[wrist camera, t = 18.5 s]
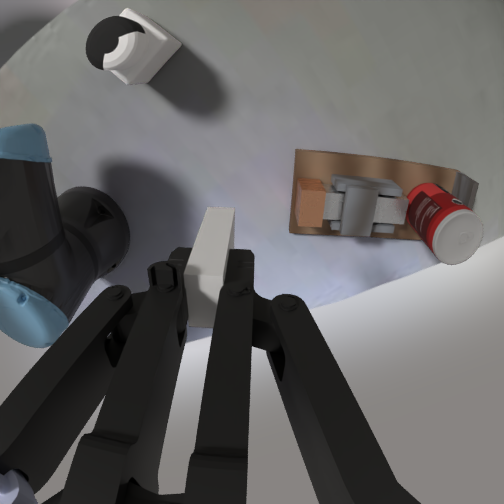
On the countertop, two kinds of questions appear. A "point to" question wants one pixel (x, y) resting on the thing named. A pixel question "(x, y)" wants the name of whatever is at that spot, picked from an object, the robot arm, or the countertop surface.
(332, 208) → the shaft
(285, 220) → the countertop surface
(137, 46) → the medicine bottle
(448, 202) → the canned food
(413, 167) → the bearing rail
